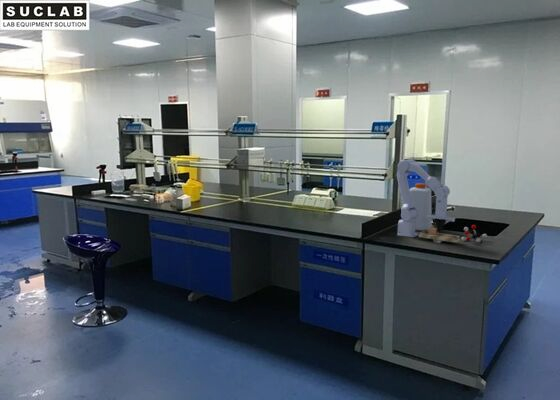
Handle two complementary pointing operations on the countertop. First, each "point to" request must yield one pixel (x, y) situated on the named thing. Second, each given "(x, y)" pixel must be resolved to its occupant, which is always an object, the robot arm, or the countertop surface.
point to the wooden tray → (439, 237)
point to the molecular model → (472, 234)
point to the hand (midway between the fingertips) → (439, 232)
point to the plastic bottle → (422, 206)
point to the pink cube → (433, 231)
